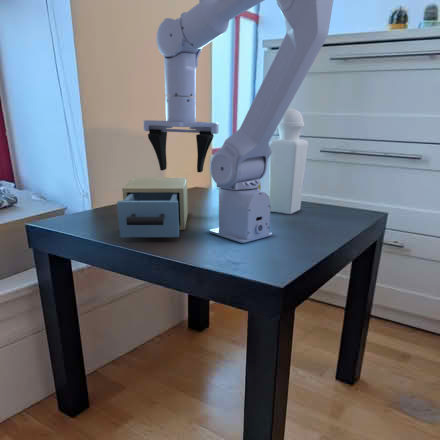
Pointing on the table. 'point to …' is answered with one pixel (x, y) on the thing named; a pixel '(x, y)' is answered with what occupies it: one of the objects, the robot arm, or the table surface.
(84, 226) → the table surface
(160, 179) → the drawer cabinet
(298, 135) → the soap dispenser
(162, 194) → the drawer
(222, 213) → the robot arm
